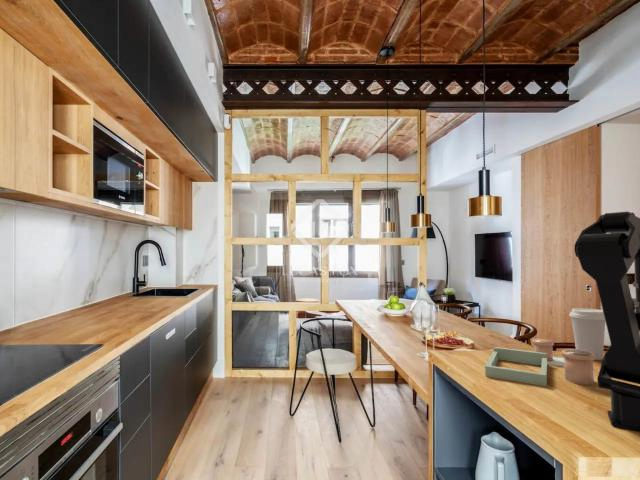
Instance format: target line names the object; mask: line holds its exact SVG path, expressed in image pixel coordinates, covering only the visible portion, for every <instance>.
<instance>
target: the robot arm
mask: <svg viewBox="0 0 640 480" xmlns="http://www.w3.org/2000/svg"><path fill="white" fill-rule="evenodd" d="M574 254H575V256H576V257H577V258H578V261H579V264H580V267H581V269H582V270H583V271H584V272H585V273H586V274H587V275H588V276H589V277H591V279H593V280H594V281H595V284H596V287H597V293H598V296H599V299H600V303H601V305H600V306H601V309H602V311H603V313H604V317H605V327H606V329H607V333H608V337H609V341H610V345H609V346H608V348H607V350H606V352H605V353H604V354H603V359H601V360H602V361H601V364H600V368H599V372H598V374H597V375H598V376H597V385H598V388H601V389H606V390H609V391H610V408H611V410H607V412H606V413H607V415H608V419H609V421H610V425H611V426H613V427H617V428H623V429H628V430H633V431H637V432H640V217H639V216H636V214H635V213H634V212H630V211H616V212H606V213H604V214H600V215H599V217H598V219H597V220H596V221H595V222H593V223H592V224H590V225H589V226H587V227H586V228H584V229H583V230H581V232H580V234H579V235H578V238H577V239H576V241H575V244H574ZM633 263H634V266H633ZM632 266H633V267H634V281H633V282H632V287H633V288H634V289H635V290H634V291H635V298H632V294H631V289H630V285H629V279H628V275H627V274H628V272H629V270H630V269H631V267H632ZM632 383H633V384H632Z"/></svg>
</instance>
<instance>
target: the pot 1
mask: <svg viewBox="0 0 640 480" xmlns="http://www.w3.org/2000/svg"><path fill="white" fill-rule="evenodd" d="M532 344H533V347H534V348H533V349H534V350H533V352H541V353H547V361H553V356H554V354H553V353H554V351H553V349H554V347H553V346H554V345H555V341H554V340H552V339H549V338H540V337H537V338H532Z"/></svg>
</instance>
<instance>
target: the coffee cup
mask: <svg viewBox="0 0 640 480" xmlns="http://www.w3.org/2000/svg"><path fill="white" fill-rule="evenodd" d="M569 317H570V319H571V324H572V325H571V326H572V332H573V338H574V339H573V340H574V347H575V349H577V350H584V351H588V352H592V353H594V354H595V360H596V361H601V360H603V359H604V346H605V330H606V321H605V317H604V313H603V309H602V310H601V309H595V308H589V307H588V308H586V307H577V308H576V307H573V308H572V309H571V311H570V312H569ZM595 360H594V361H595Z"/></svg>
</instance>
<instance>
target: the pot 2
mask: <svg viewBox="0 0 640 480" xmlns="http://www.w3.org/2000/svg"><path fill="white" fill-rule="evenodd" d="M561 357H564V363H565V367H564V379H565V380H566V381H567V382H570V383H573V384H576V385H577V384H578V385H584V386H585V385H586V386H590V385H591V386H592V385H594V384H595V377H594V376H595V375H594V361H595V354H594V353H592V352H588V351H584V350H577V349H576V348H565V349H562V350H561Z"/></svg>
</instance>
